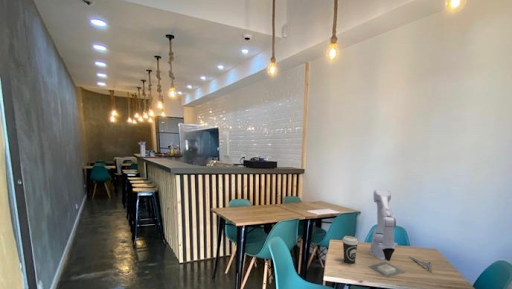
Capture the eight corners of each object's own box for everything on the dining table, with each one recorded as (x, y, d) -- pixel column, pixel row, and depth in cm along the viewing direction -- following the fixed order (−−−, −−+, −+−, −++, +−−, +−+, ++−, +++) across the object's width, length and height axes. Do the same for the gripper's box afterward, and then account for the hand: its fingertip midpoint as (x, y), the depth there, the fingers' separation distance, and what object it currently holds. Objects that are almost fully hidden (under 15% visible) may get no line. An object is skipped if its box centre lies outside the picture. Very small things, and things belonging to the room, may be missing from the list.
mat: (368, 267, 147) (368, 266, 147) (385, 262, 154) (385, 261, 154) (387, 278, 136) (387, 277, 136) (405, 272, 142) (405, 272, 142)
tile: (386, 267, 147) (377, 269, 144) (386, 264, 147) (377, 266, 144) (395, 272, 142) (386, 275, 138) (395, 268, 142) (386, 271, 138)
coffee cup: (357, 260, 155) (358, 237, 155) (357, 267, 147) (358, 242, 147) (342, 257, 159) (342, 234, 159) (340, 263, 151) (341, 239, 151)
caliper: (431, 273, 143) (432, 263, 143) (430, 273, 143) (430, 263, 143) (409, 257, 163) (410, 248, 163) (408, 257, 163) (408, 247, 163)
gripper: (386, 241, 136) (385, 265, 136) (402, 238, 142) (402, 261, 142) (375, 237, 142) (374, 259, 143) (391, 233, 148) (391, 255, 149)
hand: (387, 260), depth 143 cm, fingers closed
